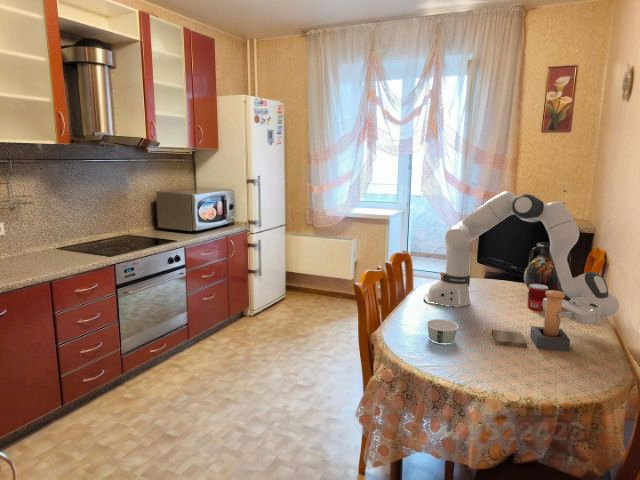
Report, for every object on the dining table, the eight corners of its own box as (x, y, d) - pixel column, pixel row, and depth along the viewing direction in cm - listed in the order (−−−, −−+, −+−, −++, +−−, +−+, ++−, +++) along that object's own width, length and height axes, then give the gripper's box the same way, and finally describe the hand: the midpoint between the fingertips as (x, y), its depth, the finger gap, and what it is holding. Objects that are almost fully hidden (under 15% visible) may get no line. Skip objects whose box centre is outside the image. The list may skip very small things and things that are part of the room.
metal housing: (536, 348, 163) (537, 337, 162) (530, 336, 173) (531, 326, 173) (568, 351, 160) (570, 340, 159) (560, 339, 171) (561, 328, 170)
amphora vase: (515, 297, 222) (520, 244, 217) (531, 289, 237) (536, 238, 232) (561, 308, 207) (567, 250, 202) (575, 298, 222) (581, 244, 217)
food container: (458, 348, 163) (460, 331, 161) (426, 345, 165) (426, 329, 164) (455, 335, 174) (457, 320, 173) (425, 333, 177) (426, 317, 175)
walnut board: (495, 344, 166) (495, 340, 166) (491, 333, 177) (491, 329, 176) (526, 347, 164) (526, 343, 163) (520, 335, 174) (520, 332, 174)
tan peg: (543, 340, 164) (548, 294, 161) (539, 333, 170) (543, 289, 167) (561, 341, 163) (567, 295, 159) (557, 335, 169) (562, 290, 166)
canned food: (548, 311, 203) (551, 288, 201) (531, 311, 203) (534, 288, 201) (541, 305, 210) (543, 283, 208) (524, 305, 211) (526, 283, 208)
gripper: (559, 292, 177) (531, 295, 174) (604, 309, 158) (574, 312, 154) (558, 307, 179) (530, 310, 175) (602, 325, 159) (572, 329, 155)
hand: (551, 311), depth 164 cm, fingers closed on tan peg, 5 cm apart
